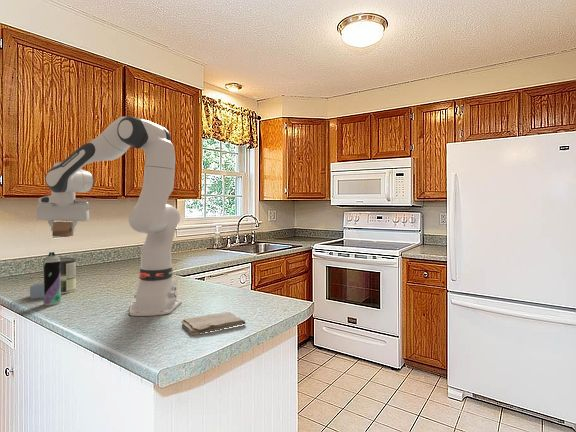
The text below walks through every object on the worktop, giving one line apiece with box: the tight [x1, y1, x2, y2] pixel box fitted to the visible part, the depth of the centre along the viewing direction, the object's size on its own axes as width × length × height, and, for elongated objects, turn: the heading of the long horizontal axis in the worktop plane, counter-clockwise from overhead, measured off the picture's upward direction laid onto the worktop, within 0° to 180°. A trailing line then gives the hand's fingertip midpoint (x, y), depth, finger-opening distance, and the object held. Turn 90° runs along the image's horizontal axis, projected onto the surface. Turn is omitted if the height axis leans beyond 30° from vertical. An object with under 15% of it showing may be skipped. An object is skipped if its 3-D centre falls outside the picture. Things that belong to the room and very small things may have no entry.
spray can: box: [42, 251, 62, 306], centre depth 141 cm, size 6×6×20 cm
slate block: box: [29, 282, 44, 299], centre depth 151 cm, size 5×5×5 cm
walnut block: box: [51, 221, 74, 238], centre depth 158 cm, size 6×6×6 cm
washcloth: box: [180, 311, 246, 336], centre depth 118 cm, size 12×18×3 cm, turn 124°
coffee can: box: [59, 257, 77, 295], centre depth 160 cm, size 10×10×14 cm
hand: (63, 231), depth 159 cm, fingers closed on walnut block, 6 cm apart
